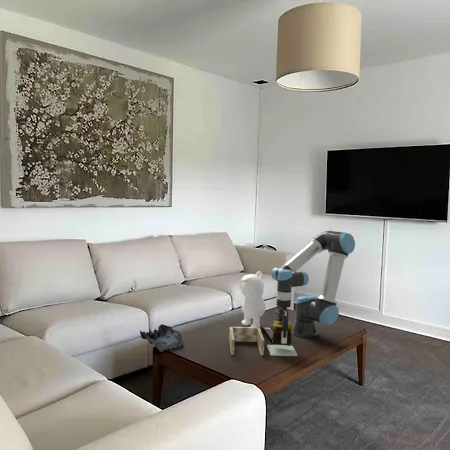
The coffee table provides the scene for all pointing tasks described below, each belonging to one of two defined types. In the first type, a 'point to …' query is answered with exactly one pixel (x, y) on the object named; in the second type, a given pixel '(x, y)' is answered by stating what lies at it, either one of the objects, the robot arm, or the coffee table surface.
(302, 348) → the coffee table surface
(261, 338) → the wooden u-shaped frame
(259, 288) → the teddy bear
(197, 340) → the coffee table surface
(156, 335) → the crumpled grey paper
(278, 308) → the eiffel tower figurine
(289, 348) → the felt mat
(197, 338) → the coffee table surface
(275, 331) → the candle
